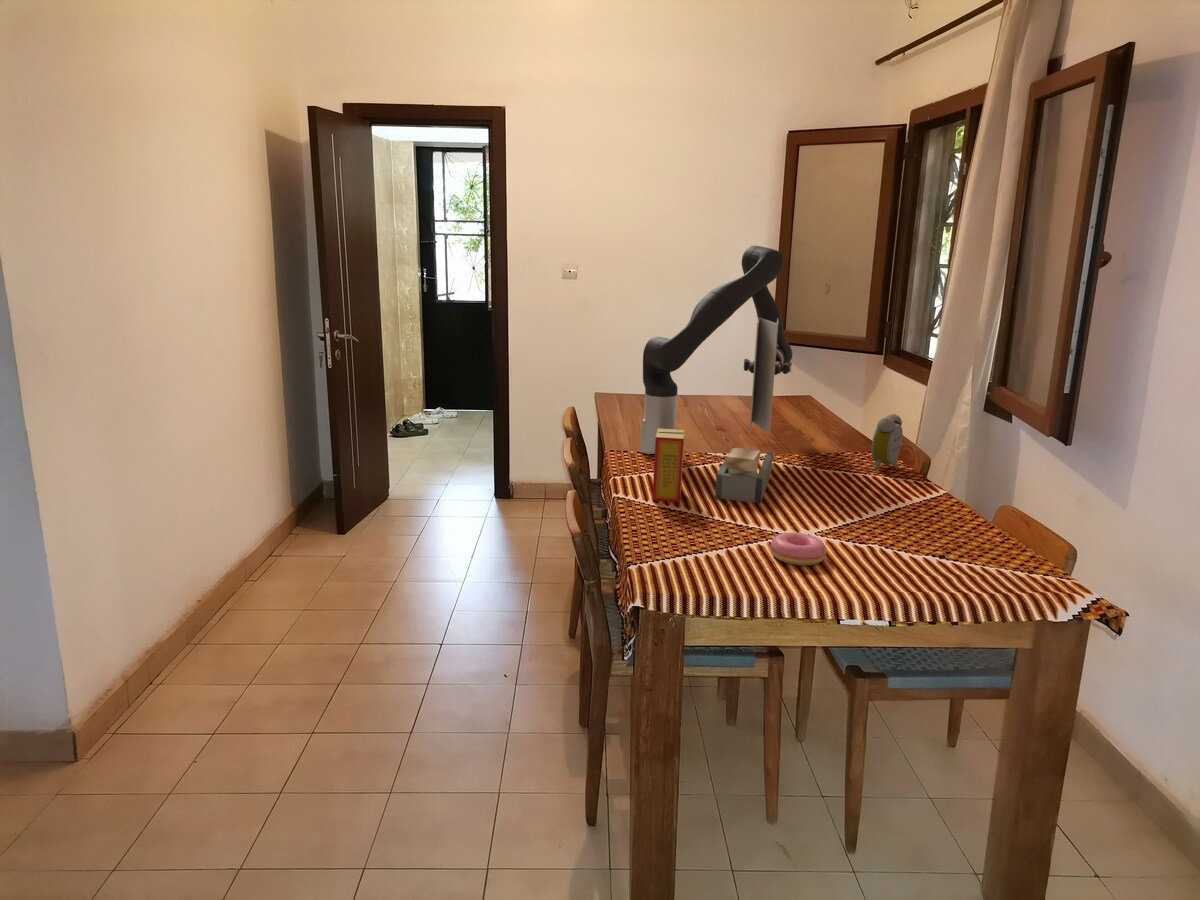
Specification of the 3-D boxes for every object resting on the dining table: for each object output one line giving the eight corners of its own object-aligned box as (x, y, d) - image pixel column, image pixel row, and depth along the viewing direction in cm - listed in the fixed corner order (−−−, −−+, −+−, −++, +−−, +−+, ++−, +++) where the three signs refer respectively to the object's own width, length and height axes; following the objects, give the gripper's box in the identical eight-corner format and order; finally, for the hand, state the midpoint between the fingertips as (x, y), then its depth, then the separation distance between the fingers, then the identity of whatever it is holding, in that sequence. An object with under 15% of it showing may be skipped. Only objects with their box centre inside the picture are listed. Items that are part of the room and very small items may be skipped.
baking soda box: (679, 502, 194) (683, 437, 190) (652, 500, 195) (655, 435, 191) (681, 491, 203) (684, 428, 199) (654, 489, 204) (658, 426, 200)
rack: (714, 498, 198) (716, 474, 197) (730, 469, 223) (732, 448, 222) (760, 503, 195) (762, 479, 194) (771, 473, 220) (773, 452, 219)
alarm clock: (880, 462, 236) (887, 411, 232) (905, 466, 232) (911, 414, 229) (868, 470, 227) (874, 417, 223) (892, 475, 223) (899, 421, 219)
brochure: (769, 433, 224) (778, 323, 217) (749, 432, 225) (757, 322, 218) (770, 422, 238) (778, 318, 230) (751, 421, 239) (758, 317, 231)
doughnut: (816, 548, 169) (818, 529, 168) (833, 569, 158) (835, 549, 157) (763, 547, 168) (765, 528, 167) (777, 568, 158) (779, 548, 157)
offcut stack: (724, 496, 200) (726, 457, 197) (729, 485, 209) (732, 447, 207) (753, 500, 198) (757, 460, 195) (758, 488, 207) (761, 450, 205)
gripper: (746, 347, 245) (739, 355, 229) (795, 350, 241) (791, 359, 225) (744, 372, 247) (737, 381, 231) (793, 376, 243) (788, 385, 227)
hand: (763, 370), depth 228 cm, fingers closed on brochure, 6 cm apart
